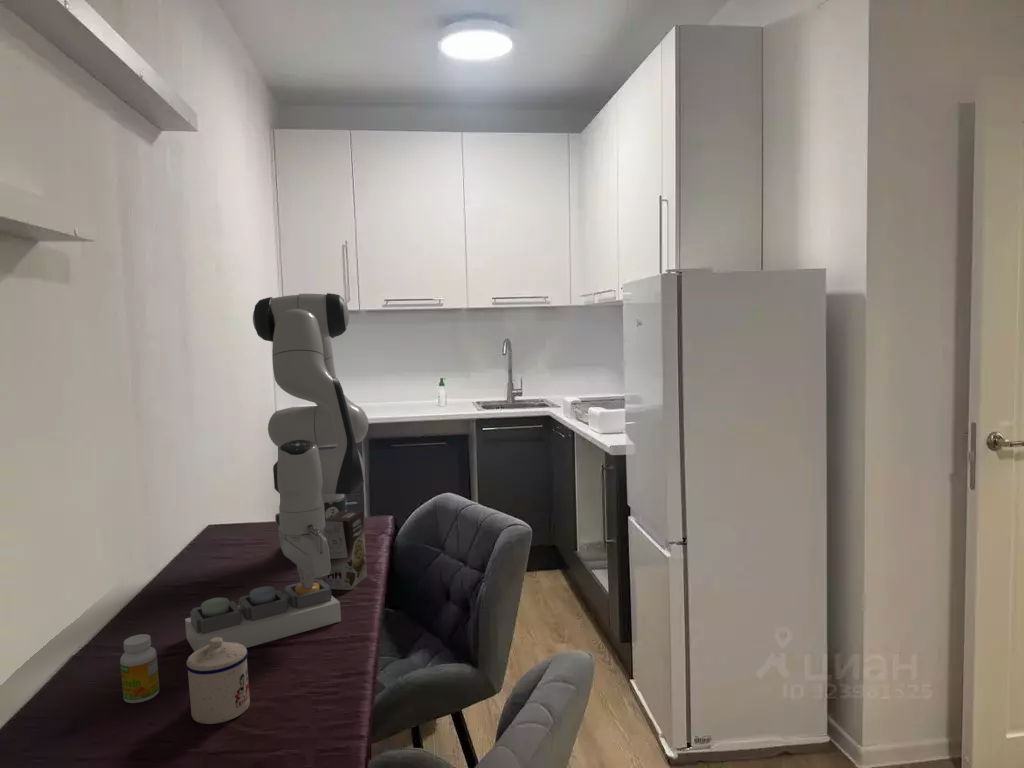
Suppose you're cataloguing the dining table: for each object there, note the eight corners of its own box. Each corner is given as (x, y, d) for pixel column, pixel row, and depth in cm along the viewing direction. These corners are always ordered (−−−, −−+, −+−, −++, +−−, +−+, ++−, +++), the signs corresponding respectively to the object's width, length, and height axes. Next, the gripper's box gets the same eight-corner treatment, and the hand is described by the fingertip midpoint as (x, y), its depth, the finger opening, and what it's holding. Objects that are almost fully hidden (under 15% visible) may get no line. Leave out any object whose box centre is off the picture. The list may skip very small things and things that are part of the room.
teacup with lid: (250, 719, 112) (244, 646, 111) (186, 731, 109) (180, 656, 108) (254, 682, 123) (249, 616, 122) (196, 692, 121) (190, 625, 119)
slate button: (247, 600, 145) (246, 590, 144) (271, 594, 147) (271, 584, 147) (254, 607, 141) (253, 597, 140) (278, 601, 143) (278, 591, 143)
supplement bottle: (116, 703, 118) (110, 646, 117) (137, 686, 123) (132, 631, 122) (146, 704, 117) (141, 647, 116) (166, 687, 123) (161, 632, 122)
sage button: (199, 611, 139) (198, 601, 139) (225, 605, 142) (224, 595, 142) (205, 619, 136) (204, 609, 135) (231, 613, 138) (231, 603, 138)
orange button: (292, 595, 150) (292, 586, 150) (315, 589, 153) (314, 580, 152) (300, 602, 146) (299, 592, 146) (323, 596, 149) (322, 586, 148)
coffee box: (352, 590, 164) (348, 521, 162) (326, 589, 165) (321, 520, 164) (368, 576, 173) (364, 510, 171) (343, 575, 174) (339, 509, 173)
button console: (186, 638, 142) (184, 606, 141) (320, 603, 157) (318, 574, 156) (199, 660, 132) (197, 627, 131) (341, 621, 147) (339, 590, 147)
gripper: (336, 528, 141) (340, 597, 142) (301, 508, 158) (305, 570, 159) (304, 535, 137) (309, 605, 139) (272, 513, 154) (276, 576, 155)
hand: (307, 586), depth 149 cm, fingers closed, pressing on orange button
